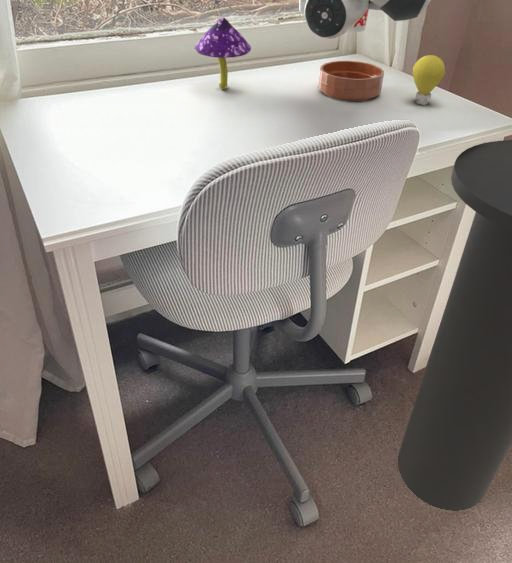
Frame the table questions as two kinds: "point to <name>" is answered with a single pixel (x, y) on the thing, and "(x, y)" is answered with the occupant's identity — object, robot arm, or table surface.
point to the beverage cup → (360, 23)
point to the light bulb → (427, 76)
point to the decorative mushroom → (222, 46)
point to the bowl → (350, 80)
